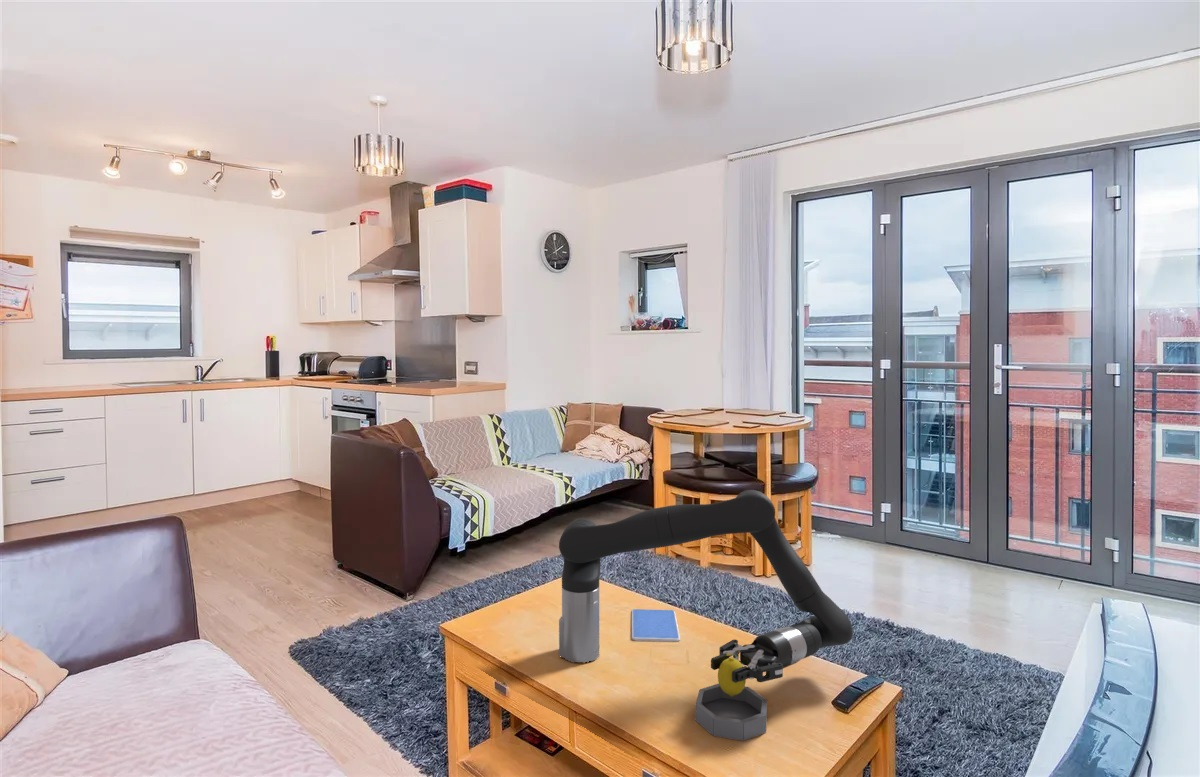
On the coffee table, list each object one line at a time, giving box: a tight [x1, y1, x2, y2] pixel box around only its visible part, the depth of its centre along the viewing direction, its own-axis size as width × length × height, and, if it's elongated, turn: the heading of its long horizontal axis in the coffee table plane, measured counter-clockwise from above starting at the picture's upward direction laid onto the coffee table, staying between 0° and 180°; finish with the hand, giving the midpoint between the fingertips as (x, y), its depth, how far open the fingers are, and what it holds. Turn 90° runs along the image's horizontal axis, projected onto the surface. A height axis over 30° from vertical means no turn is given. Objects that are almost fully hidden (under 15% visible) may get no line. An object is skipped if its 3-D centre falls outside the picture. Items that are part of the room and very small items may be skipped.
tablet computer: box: [631, 608, 681, 643], centre depth 171 cm, size 19×13×1 cm, turn 177°
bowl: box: [694, 683, 768, 742], centre depth 127 cm, size 14×14×4 cm
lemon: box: [717, 656, 747, 697], centre depth 127 cm, size 6×6×8 cm
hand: (722, 670), depth 125 cm, fingers closed on lemon, 5 cm apart
